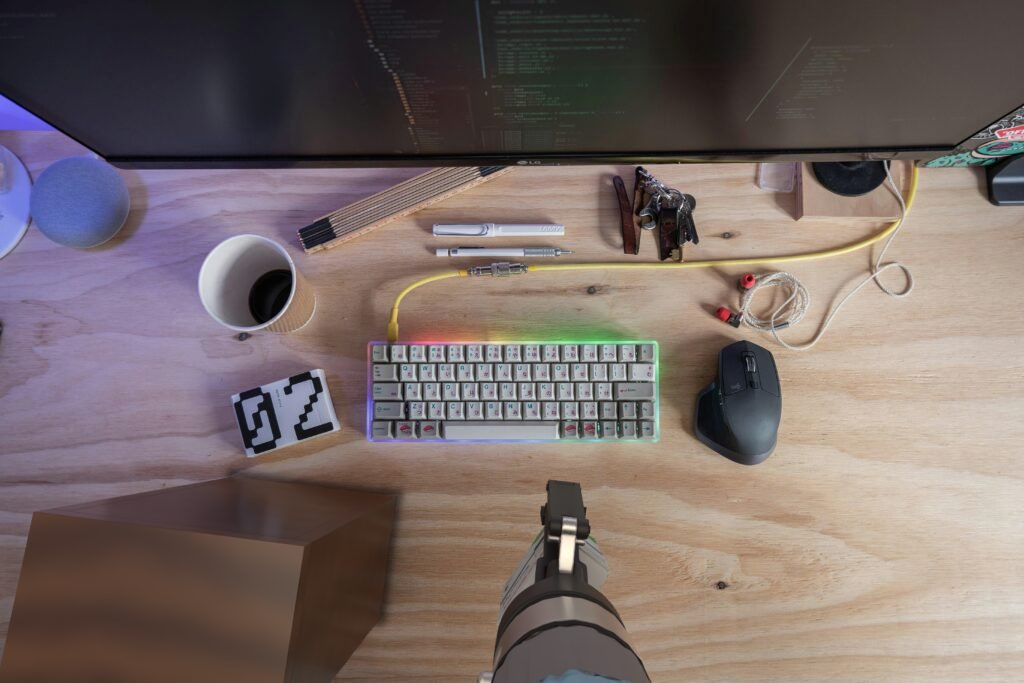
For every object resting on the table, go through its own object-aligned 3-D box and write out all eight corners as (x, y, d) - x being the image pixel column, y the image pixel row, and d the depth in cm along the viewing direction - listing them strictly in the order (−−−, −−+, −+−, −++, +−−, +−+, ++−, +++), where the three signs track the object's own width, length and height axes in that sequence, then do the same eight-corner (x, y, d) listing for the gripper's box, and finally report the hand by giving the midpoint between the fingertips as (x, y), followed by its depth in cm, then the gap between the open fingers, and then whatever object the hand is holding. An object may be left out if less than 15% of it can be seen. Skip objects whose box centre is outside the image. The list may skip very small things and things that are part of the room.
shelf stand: (379, 619, 70) (280, 747, 42) (212, 597, 70) (7, 708, 43) (396, 496, 71) (312, 541, 44) (233, 476, 72) (49, 508, 45)
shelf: (280, 747, 42) (271, 759, 40) (7, 708, 43) (-12, 719, 41) (312, 541, 44) (304, 545, 42) (49, 508, 45) (33, 511, 43)
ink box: (554, 508, 56) (561, 528, 45) (597, 540, 56) (616, 569, 44) (499, 587, 55) (492, 628, 44) (543, 620, 55) (547, 671, 43)
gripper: (516, 444, 33) (521, 439, 55) (466, 898, 29) (492, 698, 52) (654, 461, 32) (603, 449, 55) (618, 921, 29) (579, 710, 51)
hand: (549, 570), depth 53 cm, fingers closed on ink box, 9 cm apart
